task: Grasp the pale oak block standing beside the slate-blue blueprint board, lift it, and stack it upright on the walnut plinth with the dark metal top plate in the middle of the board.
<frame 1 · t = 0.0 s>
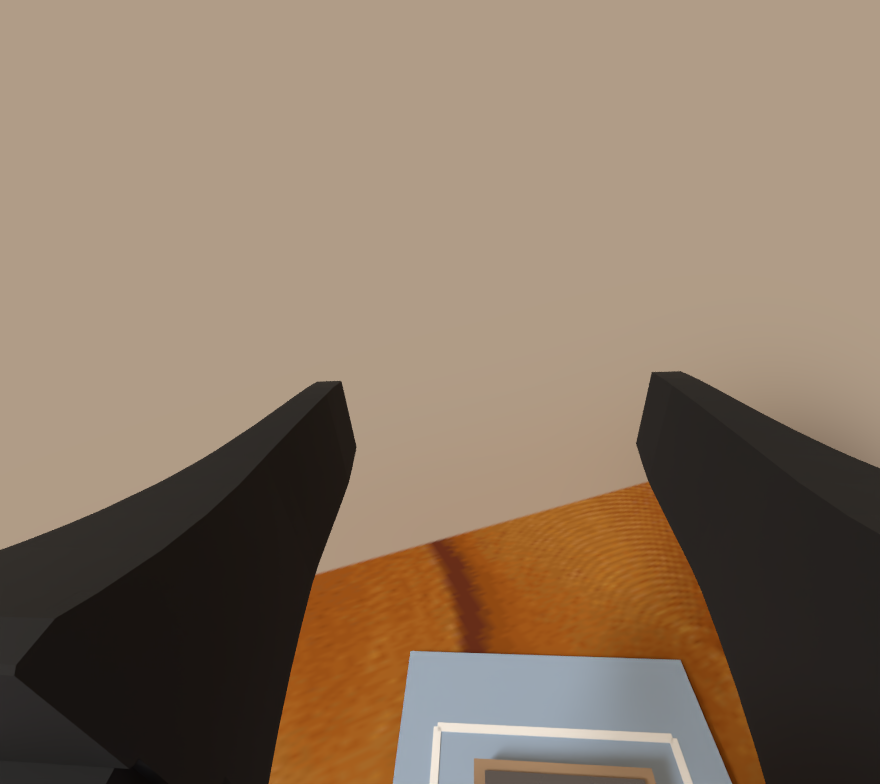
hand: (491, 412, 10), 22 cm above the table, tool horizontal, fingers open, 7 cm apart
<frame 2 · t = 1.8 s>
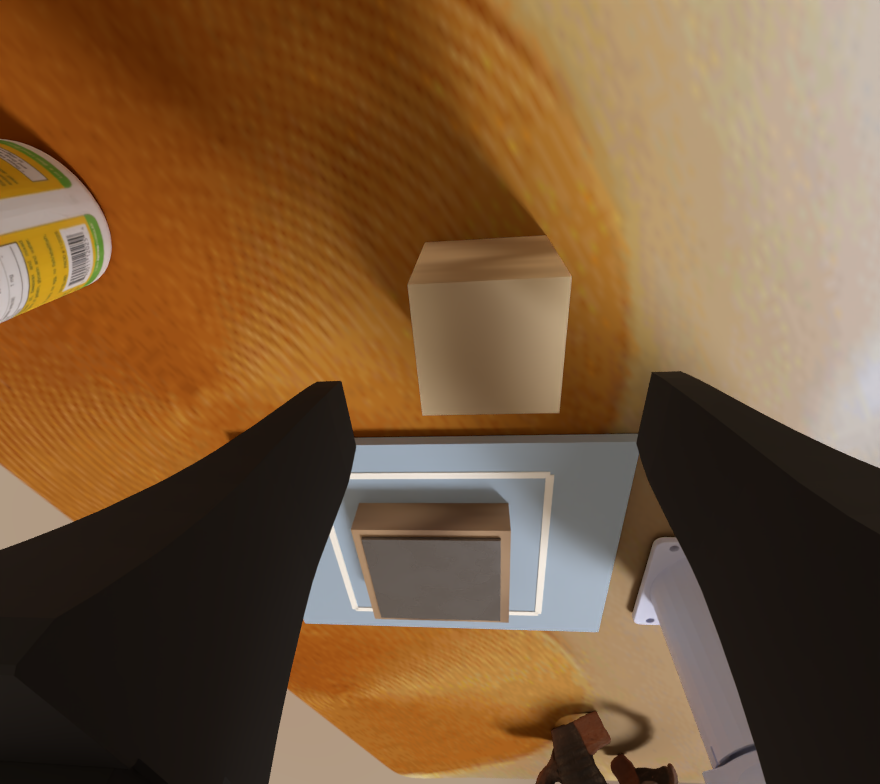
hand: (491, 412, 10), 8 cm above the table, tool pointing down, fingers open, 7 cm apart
supplement bottle: (49, 217, 17), on the table
blueprint board: (438, 543, 25), on the table
pottery mug: (592, 733, 38), on the table
oak block: (485, 296, 17), on the table
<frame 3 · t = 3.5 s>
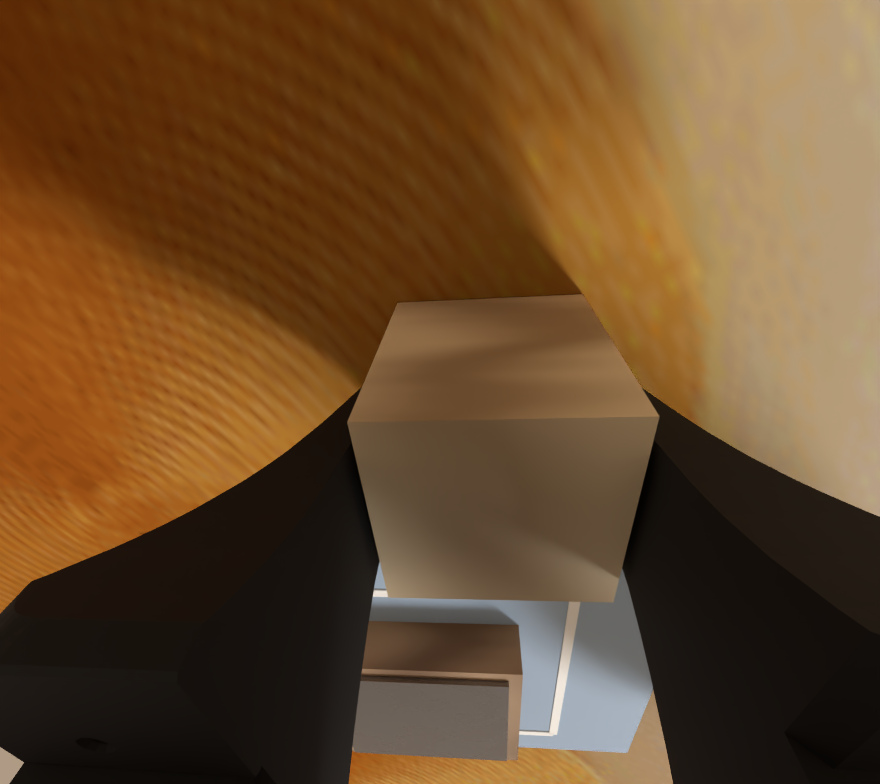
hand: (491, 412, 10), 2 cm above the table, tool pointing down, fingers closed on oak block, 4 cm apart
blueprint board: (428, 657, 20), on the table
oak block: (489, 377, 12), on the table, touching gripper
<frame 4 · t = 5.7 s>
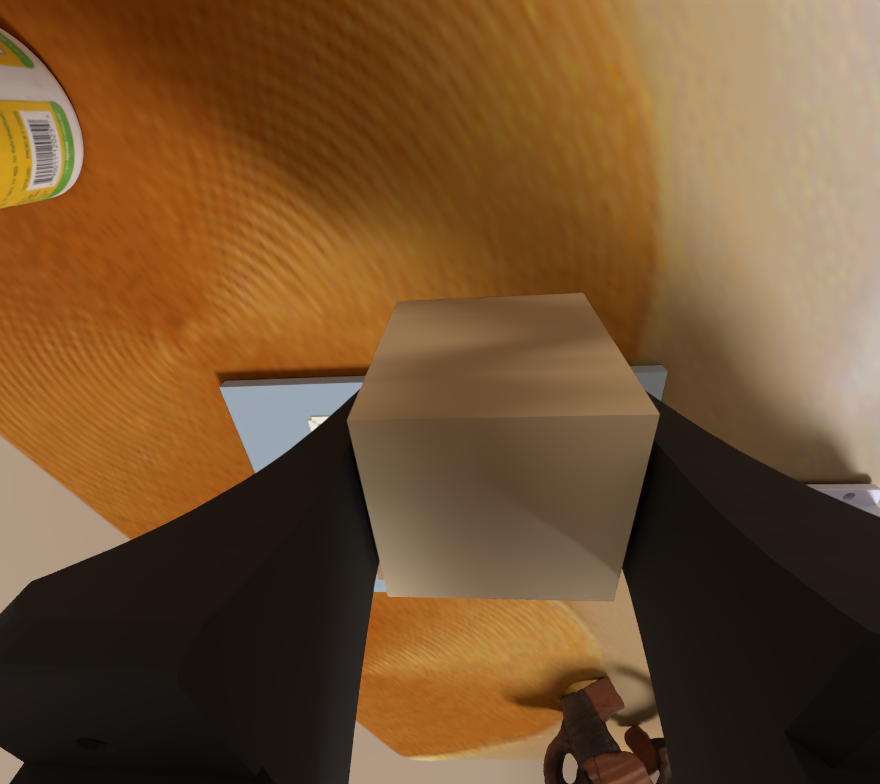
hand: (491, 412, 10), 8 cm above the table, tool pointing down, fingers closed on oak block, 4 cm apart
supplement bottle: (14, 115, 15), on the table
blueprint board: (445, 497, 24), on the table
pottery mug: (604, 702, 36), on the table
oak block: (489, 376, 12), point 7 cm above the table, touching gripper
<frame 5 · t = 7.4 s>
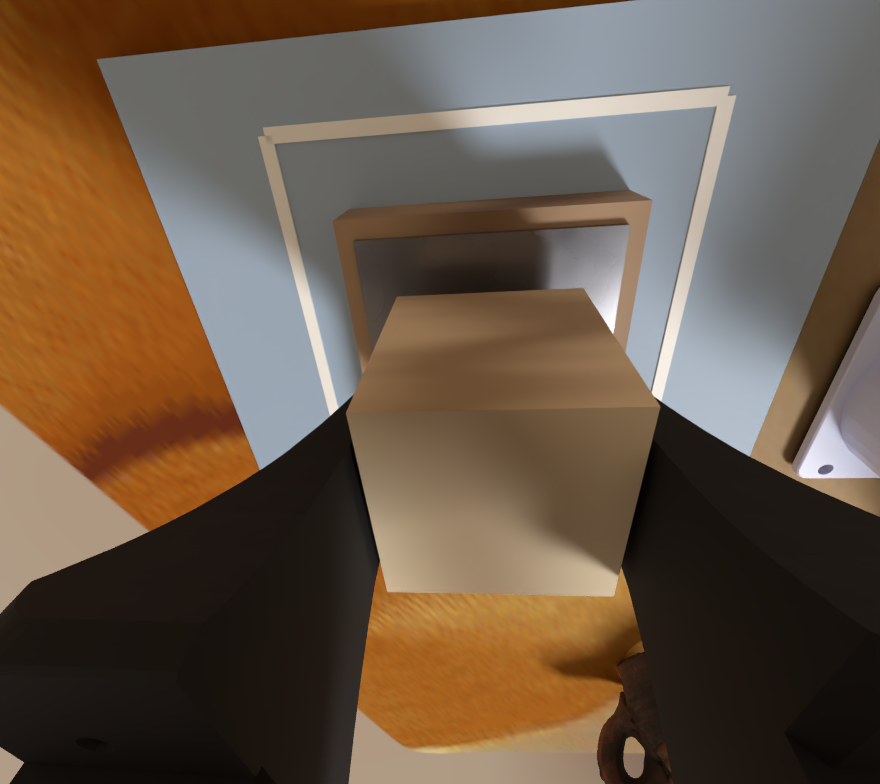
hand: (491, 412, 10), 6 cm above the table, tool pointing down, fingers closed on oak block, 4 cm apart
blueprint board: (486, 321, 15), on the table
pottery mug: (675, 670, 27), on the table
oak block: (489, 372, 12), point 4 cm above the table, touching gripper
when the fingers open (5 cm above the table, at t = 8.3 s): oak block stays where it is, resting on blueprint board.
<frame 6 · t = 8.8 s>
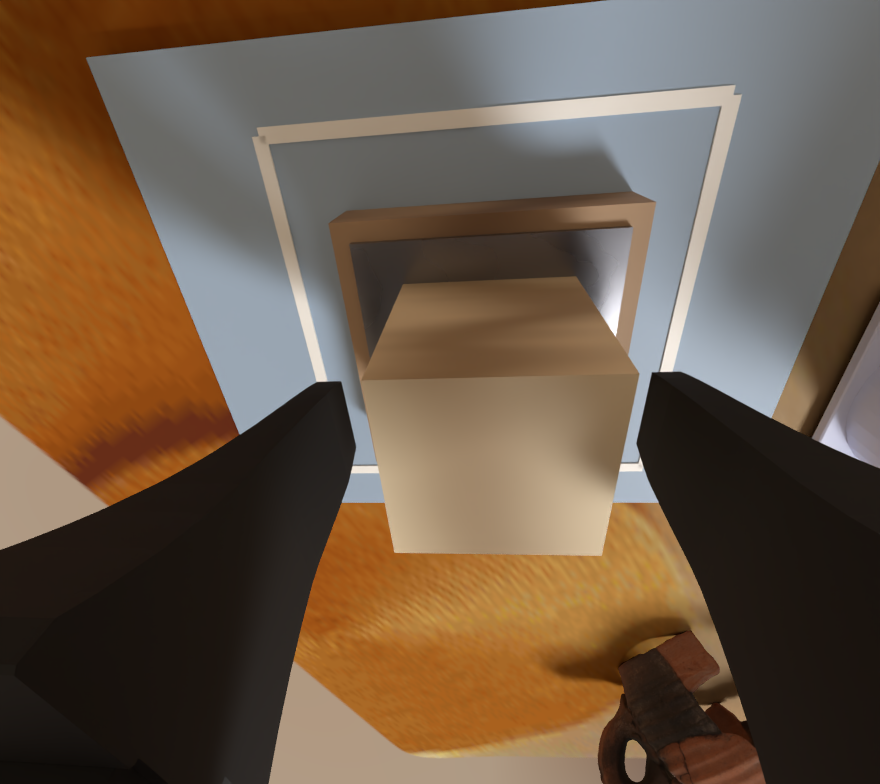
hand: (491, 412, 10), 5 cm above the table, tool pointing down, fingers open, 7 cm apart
blueprint board: (486, 324, 15), on the table
pottery mug: (677, 671, 27), on the table
oak block: (488, 356, 12), point 3 cm above the table, touching blueprint board
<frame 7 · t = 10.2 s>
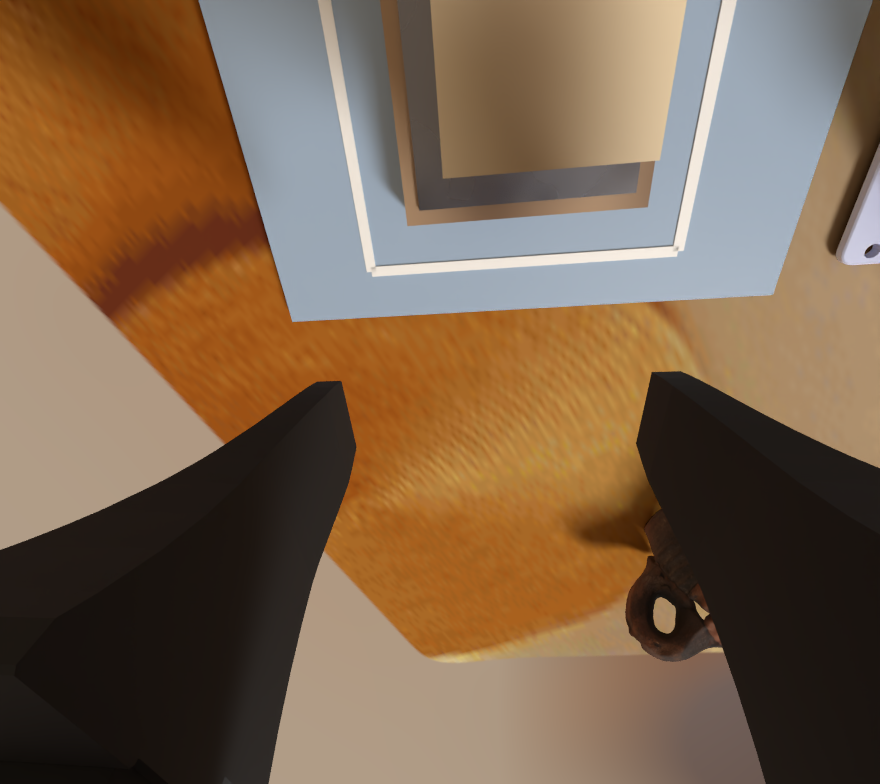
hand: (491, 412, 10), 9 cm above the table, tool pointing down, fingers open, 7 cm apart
blueprint board: (519, 76, 14), on the table
pottery mug: (704, 533, 26), on the table
oak block: (527, 63, 12), point 3 cm above the table, touching blueprint board
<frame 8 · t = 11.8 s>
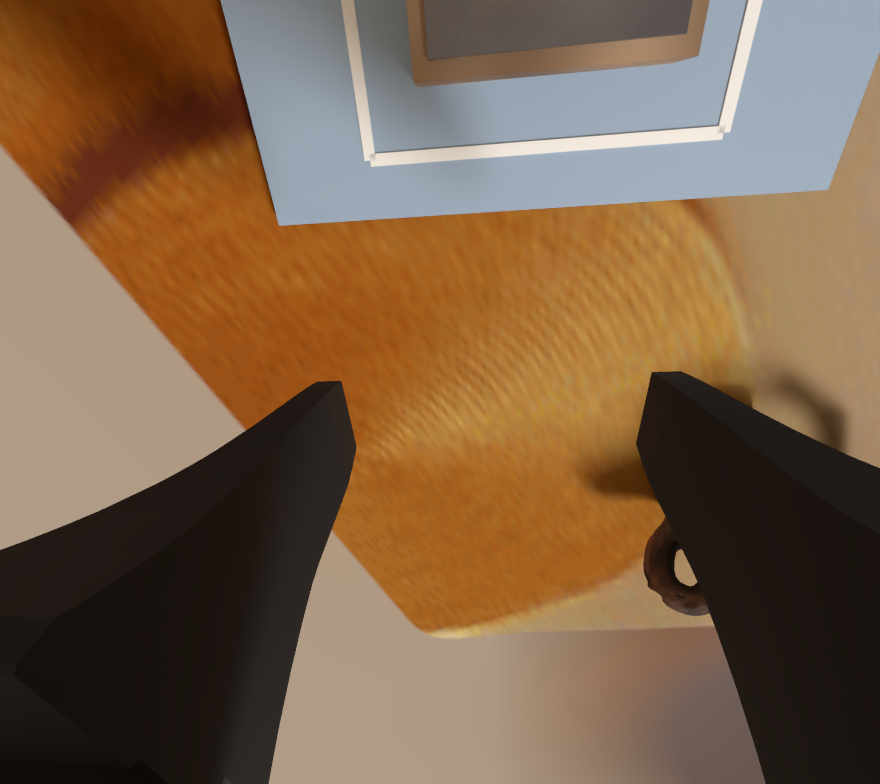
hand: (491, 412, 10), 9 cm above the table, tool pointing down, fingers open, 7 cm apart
pottery mug: (729, 481, 23), on the table
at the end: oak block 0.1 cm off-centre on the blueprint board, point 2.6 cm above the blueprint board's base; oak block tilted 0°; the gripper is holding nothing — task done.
